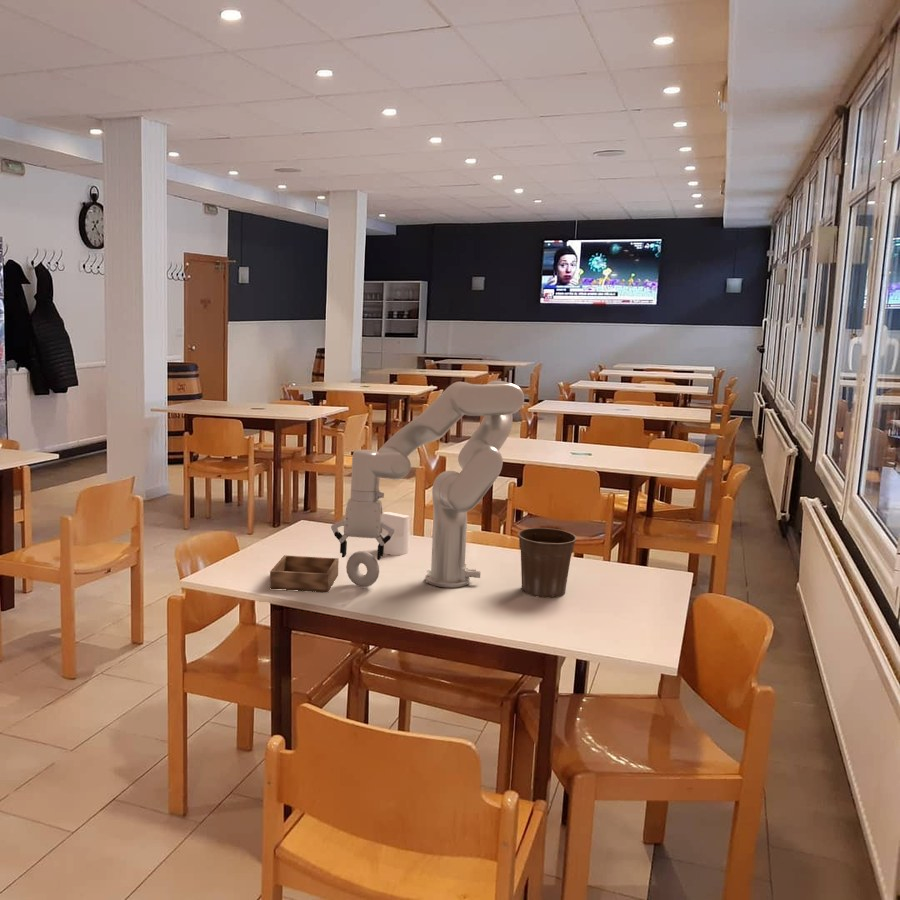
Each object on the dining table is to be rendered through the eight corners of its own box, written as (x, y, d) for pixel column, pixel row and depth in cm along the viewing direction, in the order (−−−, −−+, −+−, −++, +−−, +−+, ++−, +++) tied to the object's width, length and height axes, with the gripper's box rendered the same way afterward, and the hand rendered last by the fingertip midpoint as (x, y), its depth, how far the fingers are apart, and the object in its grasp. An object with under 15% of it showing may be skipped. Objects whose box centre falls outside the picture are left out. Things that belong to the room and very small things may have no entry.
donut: (381, 588, 227) (382, 552, 225) (374, 591, 224) (375, 555, 222) (350, 581, 231) (351, 547, 230) (343, 585, 228) (344, 549, 227)
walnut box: (338, 575, 236) (338, 558, 236) (327, 592, 221) (328, 574, 220) (283, 572, 237) (284, 555, 236) (269, 589, 222) (270, 571, 221)
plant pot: (569, 604, 221) (574, 545, 219) (510, 596, 225) (513, 539, 222) (575, 586, 237) (579, 531, 234) (519, 579, 240) (522, 525, 238)
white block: (414, 551, 265) (415, 514, 264) (397, 557, 258) (399, 519, 256) (391, 546, 270) (392, 510, 268) (374, 551, 262) (376, 514, 261)
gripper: (397, 495, 227) (394, 555, 230) (335, 490, 228) (332, 551, 230) (395, 500, 220) (391, 563, 222) (330, 496, 220) (327, 558, 223)
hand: (361, 557), depth 226 cm, fingers open, 9 cm apart
